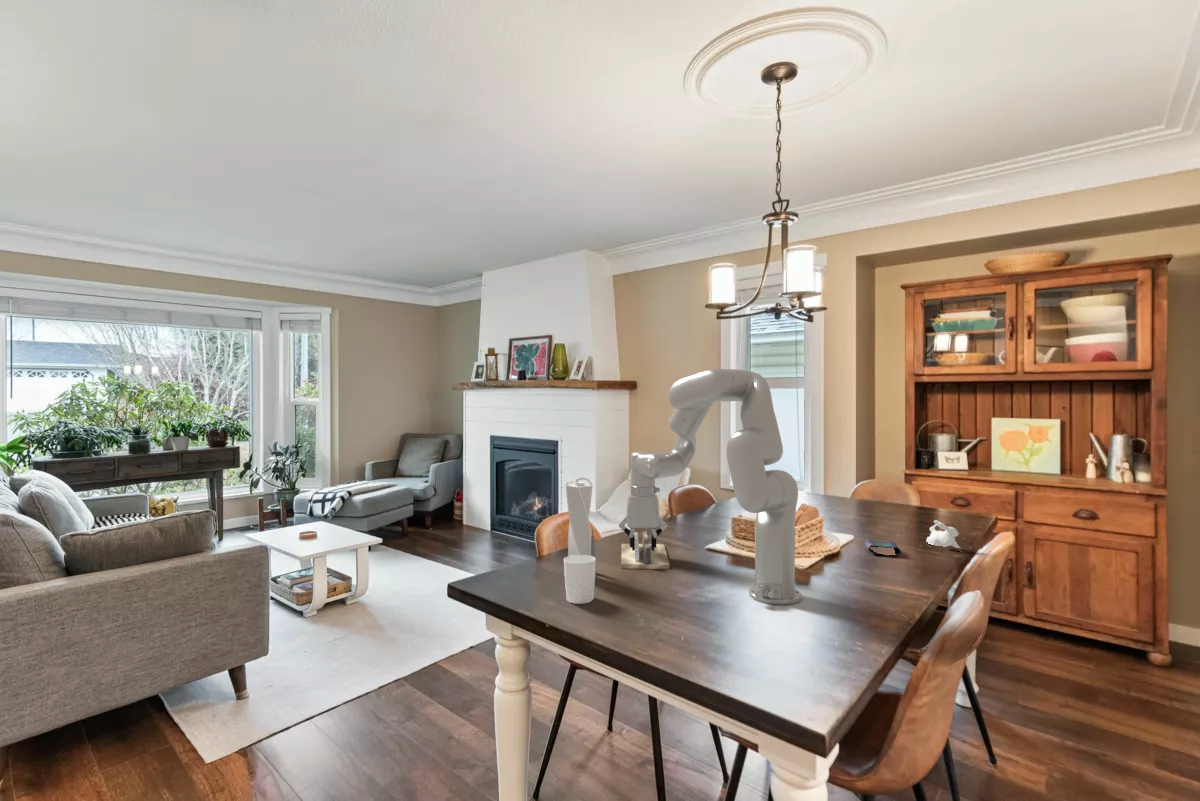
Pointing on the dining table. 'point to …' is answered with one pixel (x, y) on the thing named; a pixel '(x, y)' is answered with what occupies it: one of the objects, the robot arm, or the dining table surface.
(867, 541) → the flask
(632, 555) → the tong rest
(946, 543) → the rabbit figurine
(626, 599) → the dining table surface
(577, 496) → the skyscraper
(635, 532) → the bar
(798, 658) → the dining table surface
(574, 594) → the white cup
